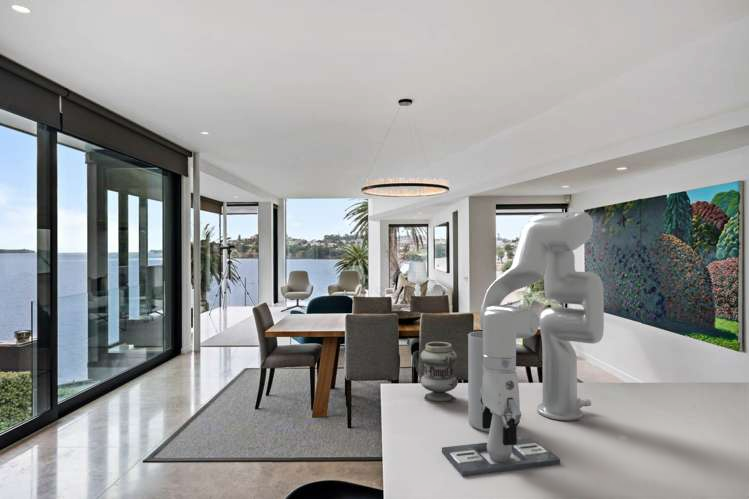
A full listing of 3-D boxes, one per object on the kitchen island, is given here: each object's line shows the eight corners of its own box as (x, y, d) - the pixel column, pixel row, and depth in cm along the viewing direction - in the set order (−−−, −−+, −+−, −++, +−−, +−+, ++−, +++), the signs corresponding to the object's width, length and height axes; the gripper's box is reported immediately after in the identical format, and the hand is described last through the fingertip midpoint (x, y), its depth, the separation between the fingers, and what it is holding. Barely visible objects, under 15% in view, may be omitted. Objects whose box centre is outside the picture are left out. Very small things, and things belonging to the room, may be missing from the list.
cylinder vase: (483, 413, 135) (483, 329, 135) (522, 424, 126) (522, 335, 126) (459, 424, 126) (459, 335, 126) (499, 437, 117) (499, 341, 117)
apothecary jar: (421, 392, 155) (421, 339, 155) (456, 393, 153) (456, 340, 153) (420, 404, 143) (419, 347, 143) (458, 405, 141) (458, 348, 141)
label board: (530, 442, 114) (530, 436, 114) (560, 464, 103) (560, 457, 103) (441, 452, 109) (441, 446, 109) (462, 476, 97) (462, 469, 97)
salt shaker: (513, 465, 102) (513, 408, 102) (487, 462, 103) (487, 406, 103) (510, 453, 108) (510, 399, 108) (486, 451, 109) (486, 398, 109)
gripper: (534, 371, 98) (534, 450, 98) (495, 353, 115) (495, 421, 115) (503, 373, 96) (503, 453, 96) (468, 355, 113) (467, 423, 113)
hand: (498, 435), depth 105 cm, fingers open, 9 cm apart
